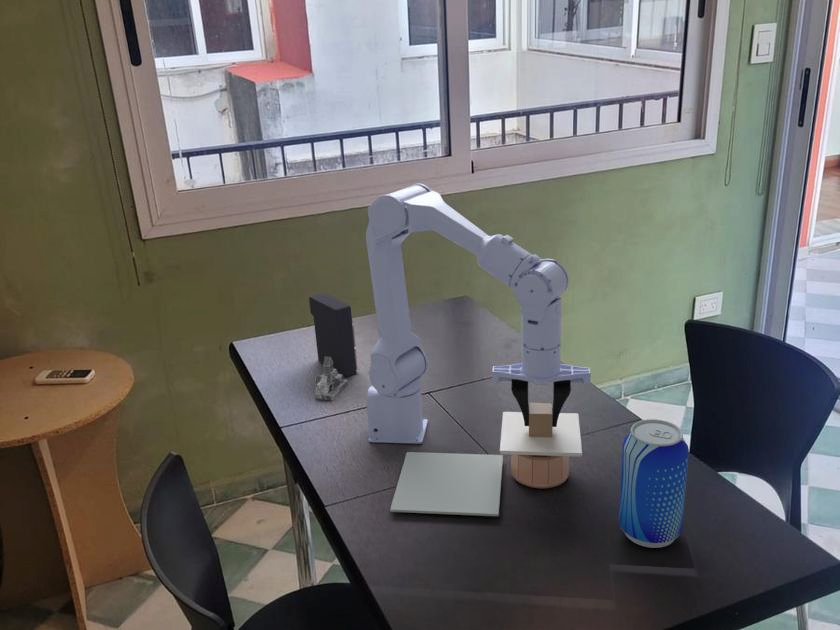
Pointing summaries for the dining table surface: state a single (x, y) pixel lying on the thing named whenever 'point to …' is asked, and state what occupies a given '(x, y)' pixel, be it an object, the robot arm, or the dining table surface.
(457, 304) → the dining table surface
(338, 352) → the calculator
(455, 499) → the mat
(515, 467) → the bowl
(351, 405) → the dining table surface
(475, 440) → the dining table surface
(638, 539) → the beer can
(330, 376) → the grey crystal cluster
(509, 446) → the cover sheet
